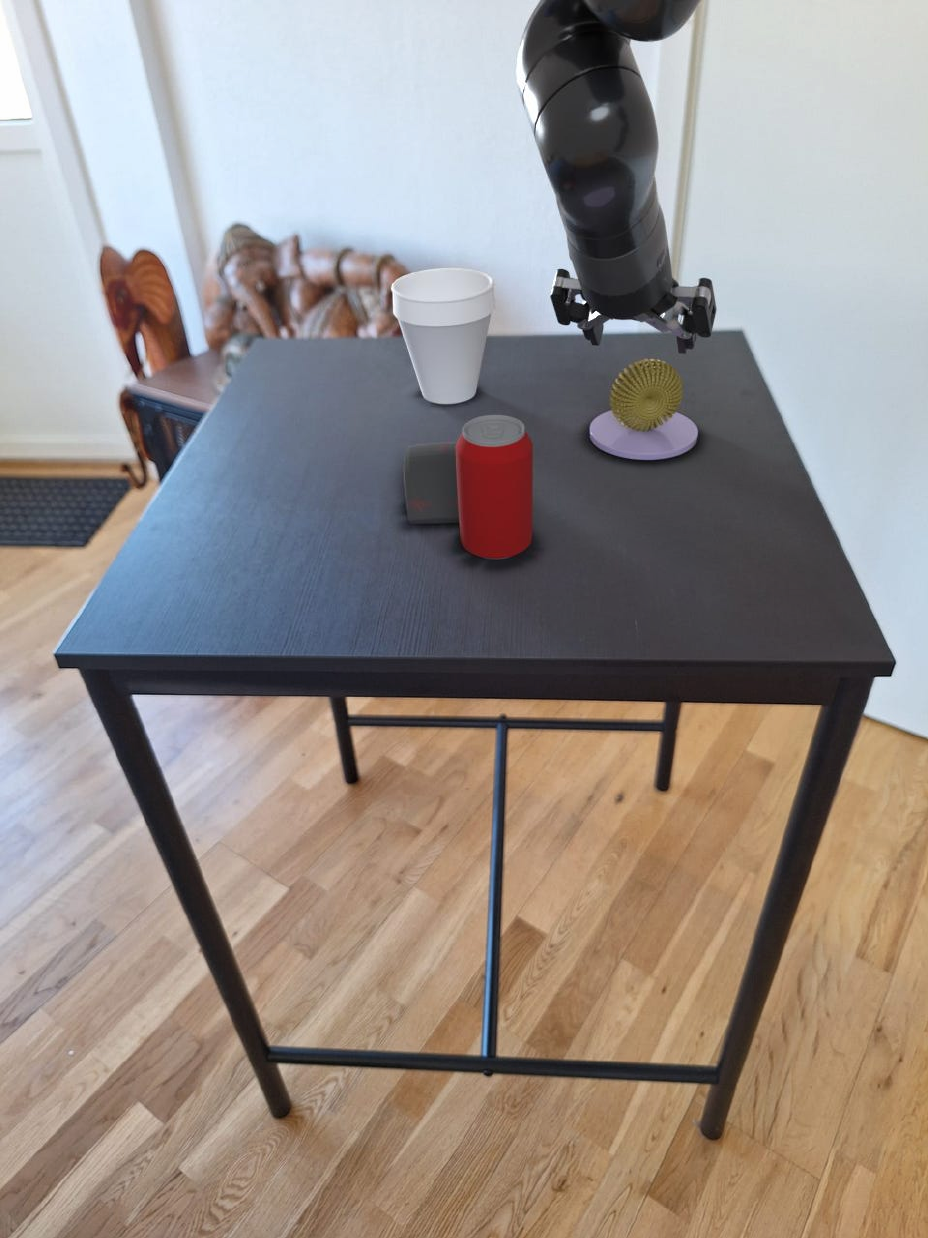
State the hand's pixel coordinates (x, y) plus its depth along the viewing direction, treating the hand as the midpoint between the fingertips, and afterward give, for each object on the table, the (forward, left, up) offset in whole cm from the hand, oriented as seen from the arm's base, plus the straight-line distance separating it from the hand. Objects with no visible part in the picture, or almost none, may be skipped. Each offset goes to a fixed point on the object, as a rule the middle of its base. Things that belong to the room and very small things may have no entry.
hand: (640, 340), depth 82 cm
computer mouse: (+17, +11, -14) cm, 25 cm away
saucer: (0, -7, -13) cm, 15 cm away
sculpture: (0, -7, -13) cm, 14 cm away
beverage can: (+8, +19, -14) cm, 25 cm away
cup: (+26, -12, -14) cm, 32 cm away
